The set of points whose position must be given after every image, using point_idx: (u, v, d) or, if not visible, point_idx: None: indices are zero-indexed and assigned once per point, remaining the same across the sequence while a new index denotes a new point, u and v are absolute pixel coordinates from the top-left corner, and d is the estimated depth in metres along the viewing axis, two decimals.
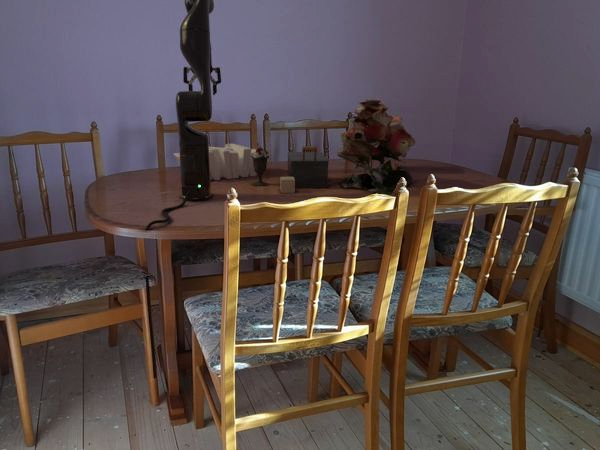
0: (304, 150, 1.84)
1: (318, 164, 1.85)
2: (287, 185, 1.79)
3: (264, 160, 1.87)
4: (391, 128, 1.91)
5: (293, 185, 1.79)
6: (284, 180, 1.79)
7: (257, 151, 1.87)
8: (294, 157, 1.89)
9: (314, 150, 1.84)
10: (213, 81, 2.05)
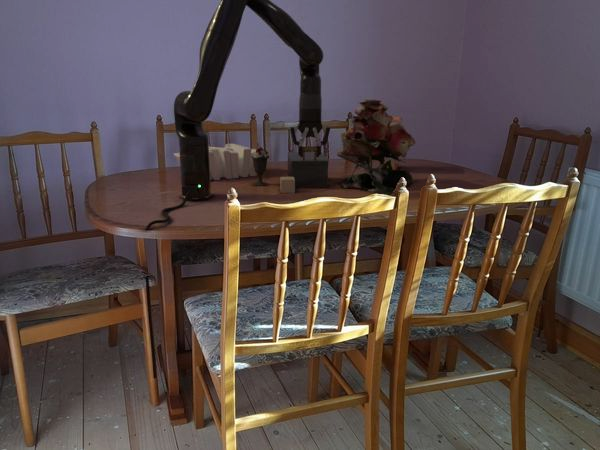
0: (304, 150, 1.84)
1: (318, 164, 1.85)
2: (287, 185, 1.79)
3: (264, 160, 1.87)
4: (391, 128, 1.91)
5: (293, 185, 1.79)
6: (284, 180, 1.79)
7: (257, 151, 1.87)
8: (294, 157, 1.89)
9: (314, 150, 1.84)
10: (318, 142, 1.83)
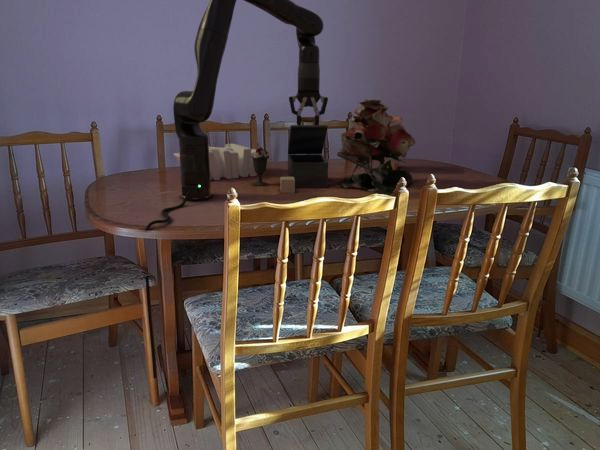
0: (302, 119, 1.87)
1: (318, 164, 1.85)
2: (287, 185, 1.79)
3: (264, 160, 1.87)
4: (391, 128, 1.91)
5: (293, 185, 1.79)
6: (284, 180, 1.79)
7: (257, 151, 1.87)
8: None
9: (312, 119, 1.87)
10: (316, 112, 1.87)
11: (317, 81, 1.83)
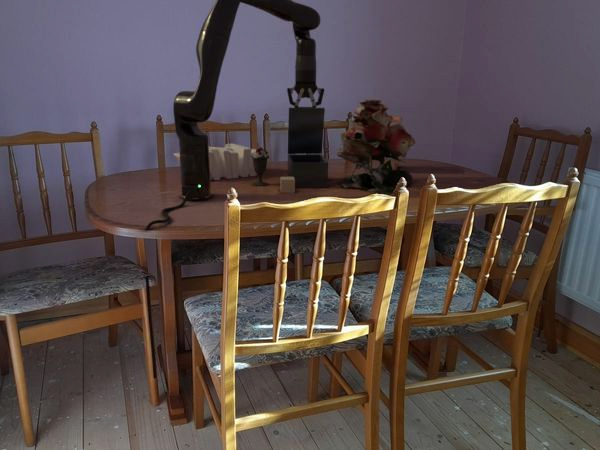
0: (300, 107, 1.95)
1: (318, 164, 1.85)
2: (287, 185, 1.79)
3: (264, 160, 1.87)
4: (391, 128, 1.91)
5: (293, 185, 1.79)
6: (284, 180, 1.79)
7: (257, 151, 1.87)
8: None
9: (310, 107, 1.95)
10: (313, 103, 1.95)
11: (314, 73, 1.91)
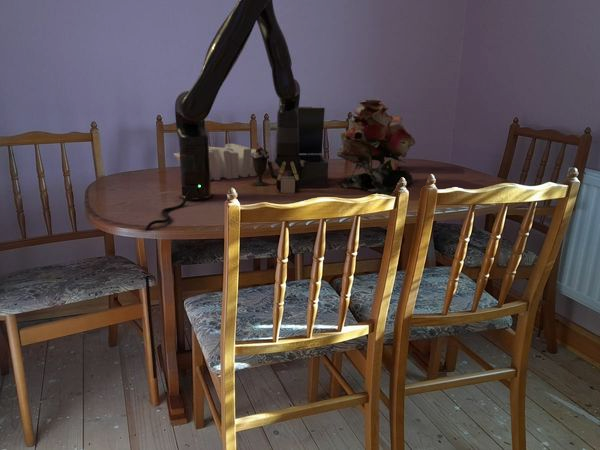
0: (300, 107, 1.95)
1: (318, 164, 1.85)
2: (287, 185, 1.79)
3: (264, 160, 1.87)
4: (391, 128, 1.91)
5: (293, 185, 1.79)
6: (284, 180, 1.79)
7: (257, 151, 1.87)
8: None
9: (310, 107, 1.95)
10: (295, 176, 1.80)
11: (296, 146, 1.75)
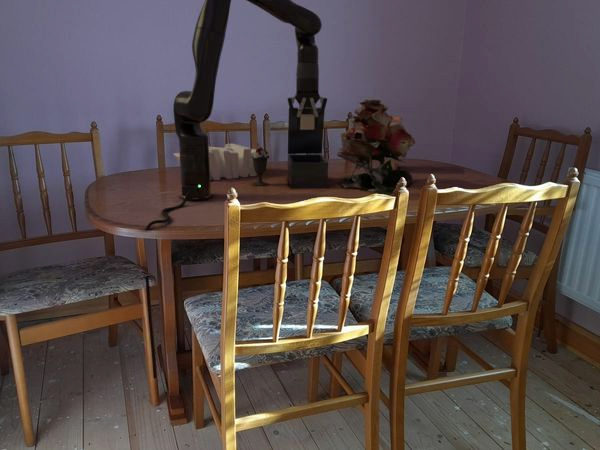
0: None
1: (318, 164, 1.85)
2: (306, 121, 1.83)
3: (264, 160, 1.87)
4: (391, 128, 1.91)
5: (313, 122, 1.83)
6: (304, 116, 1.82)
7: (257, 151, 1.87)
8: None
9: None
10: (315, 113, 1.83)
11: (316, 81, 1.79)
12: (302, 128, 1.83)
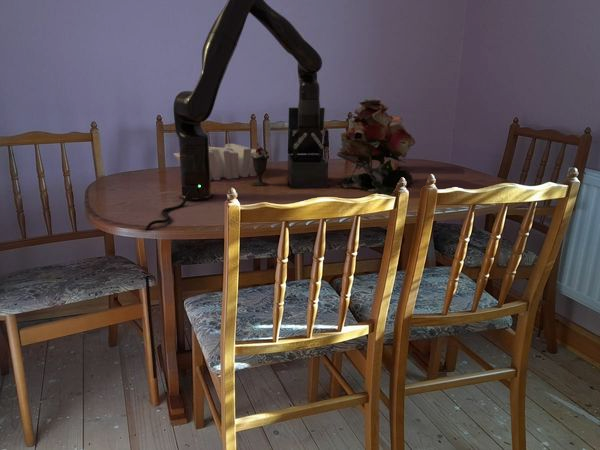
0: None
1: (318, 164, 1.85)
2: None
3: (264, 160, 1.87)
4: (391, 128, 1.91)
5: None
6: None
7: (257, 151, 1.87)
8: None
9: None
10: (320, 145, 1.87)
11: (317, 117, 1.83)
12: None
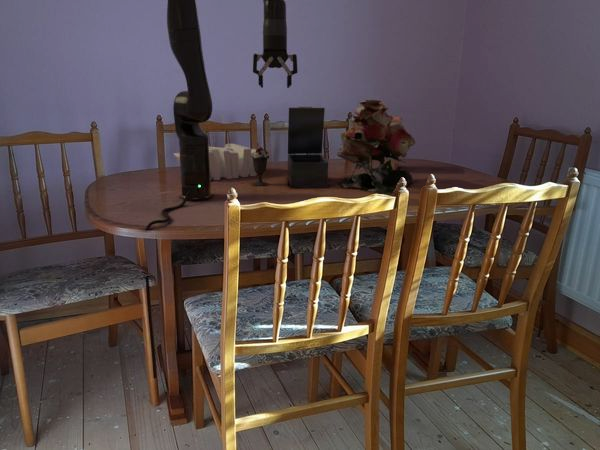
0: (300, 107, 1.95)
1: (318, 164, 1.85)
2: None
3: (264, 160, 1.87)
4: (391, 128, 1.91)
5: None
6: None
7: (257, 151, 1.87)
8: None
9: (310, 107, 1.95)
10: (288, 71, 1.71)
11: (284, 39, 1.67)
12: None
